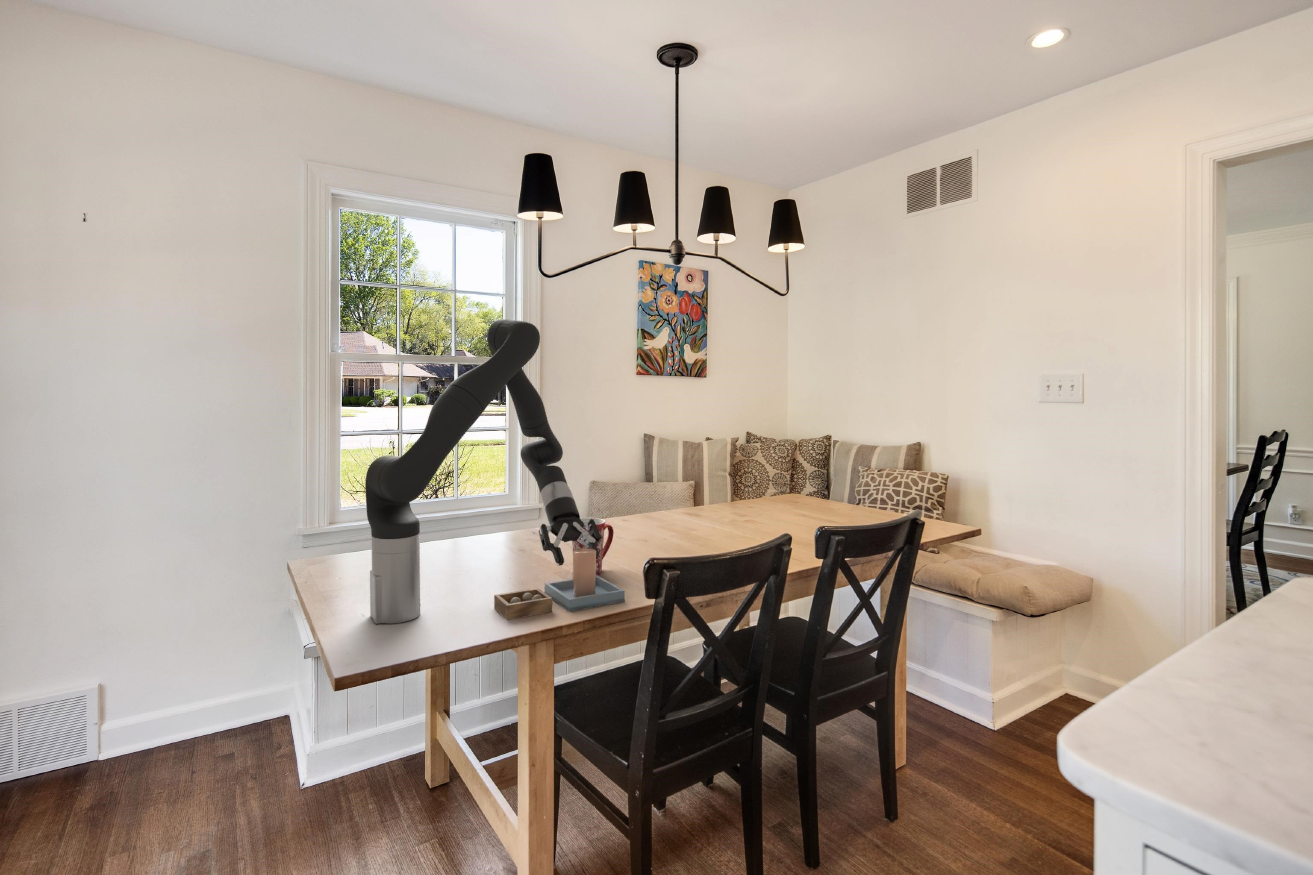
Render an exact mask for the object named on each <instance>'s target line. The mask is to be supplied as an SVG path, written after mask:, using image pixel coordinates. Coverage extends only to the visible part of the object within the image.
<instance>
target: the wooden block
mask: <svg viewBox="0 0 1313 875" xmlns="http://www.w3.org/2000/svg"><path fill="white" fill-rule="evenodd" d="M596 575H597V574H596V550H594V549H576V550H574V551H573V550H572V579H573V596H575V597H582V596H588V595H594V594H596Z"/></svg>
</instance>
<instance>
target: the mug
mask: <svg viewBox="0 0 1313 875" xmlns="http://www.w3.org/2000/svg"><path fill="white" fill-rule="evenodd" d="M580 519H581V520H582V521H583V522H589V521H590V519H593V520H594V522H595V524H596V526H597V528H598V531H599V533H600V535H601V540H600V541H599V543H598V545H596V546H597V549H598V552H599V556H598V558H597V560H596V575H598V574H601V573H602V570H603V559H604V558H605V557H606V554H607V553H608V552H609V549H610V547H611V545H612V542H613V538H614V535H615V534H614V533H615V532H614V528H613V526H612V525H611V524H609V523H606V520H605V519H602V518H597V517H580ZM583 529H585V530H586V528H583ZM606 529H607V538H606V541H605V544H604V539H605V538H604V537H605V530H606ZM586 531H587V530H586ZM587 532H588V533H589V531H587ZM589 535H590V534H589ZM580 536H581V537H583V535H582V534H581V535H580ZM571 542H572V552H573V551H574V550H576V549H588V548H589V547H588V546H586V545H585V544H584V543H580V542H579V541H578V540H576V541H571Z"/></svg>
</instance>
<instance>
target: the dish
mask: <svg viewBox="0 0 1313 875" xmlns="http://www.w3.org/2000/svg"><path fill="white" fill-rule="evenodd" d="M625 591H626V590H625V589H623V588H621V587H619V586H618V585H616V584H614V583H612V582H610V581H609V580H607V579H605V578H603V577H601V576H599V575H598V574H596V594H594V595H588V596H582V597H575V596H573V578H570V579H564V580H559V581H552V582H544V593H546V594H547V595H549V596H550V597H551V598H552V602H553V601H554V602H555V603H556V604H557V605H559V606H560V607H562V608H563V609H564V610H567V612H576V611H581V610H586V609H591V608H598V607H604V606H610V605H614V604H620V603H625V601H626V600H625V595H626V592H625Z"/></svg>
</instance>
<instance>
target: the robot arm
mask: <svg viewBox="0 0 1313 875" xmlns="http://www.w3.org/2000/svg"><path fill="white" fill-rule="evenodd" d="M486 342H487V347H488V349H489V353H490V354H491V357H489V359H487V360H485V361H484V362H482V363H481V364H479V365H477V366H476V367H473V368H471V369H469V370H468V371H466V372H465V373H463V374H461V375H460V376H458V377H457V378H455V379H454V380H453V381H452V382H450V383H449V384H448V386H447V387H446V389H445V390H443V392H442V393H441V394H440V395H439V396H438V397H437V399H436V400H435V402H433V405H432V406H431V409H430V412H429V415H428V418H427V422H426V424H425V427H424V430H423V431H422V433H421V435H420V436H419V437H418V438H417V440H416V441H415V442H414V443H413V444H412V445H411V446H410V448H408V449H407V450H406V452H404V454H402V455H401V456H398V455H392V454H391V455H388V454H387V455H382V456H379V457H378V458H376V459H375V460H373V461H372V462H371V464H370V465H369V467H368V468H367V471H366V475H365V486H364V487H365V505H366V506H365V507H366V518H367V521H368V524H369V526H370V531H371V532H370V533H371V570H369V594H370V595H369V598H370V600H369V603H370V604H369V605H370V606H369V610H370V613H369V614H370V617H371V619H372V621H373V622H374V624H375V625H378V624H399V623H405V622H409V621H412V620H415V619H417V618H418V617H420V615H421V605H422V604H421V546H420V545H421V543H420V542H421V538H420V537H421V536H420V535H421V533H420V532H421V528H420V527H421V526H420V525H421V524H420V520H419V518H418V517H417V516H416V515H415V514H414V512H413V510H412V508H411V503H412V502H413V501H415V500H416V499H418V498H419V496H421V495H422V494H423V493H424V492H425V491H426V488H428V486H429V484H430V483H431V481H432V479H433V478H434V477H435V475H436V474H437V472H438V470H439V469H440V467H441V465H442V464H443V462H445V460H446V458H447V457H448V455H449V454H450V453H451V452H452V451H453V449H454V448H455V447H456V446H457V444H458V443H459V442H460V441H461V439H462V438H463V437H464V436H465V434H466V433H467V432H468V431H469V430H470V429H471V428H472V427H473V425H474V424H475V423H476V421H477V420H478V419H479V418H480V417H481V415H483V413H484V412H485V410H486V408H487V407H488V406H489V405H490V404H491V402H492V401H493V400H494V399H495V398H496V396H498V394H499V393H500V392H501V391H502V389H503V388H504V387H506V388H507V390H508V392H509V395H510V398H511V399H512V400H511V401H512V403H513V406H514V409H515V412H516V413H515V414H516V417H517V419H518V423H519V426H520V430H521V432H522V434H523V436H525V437H528V438H541V439H537V440H534V441H533V440H532V441H530V442H527V443H525V444H524V445H523V446H522V447H521V448H520V449H521V450H520V458H521V460H522V462H523V464H524V465H525V467H526V468H527V469H528V471H529V472H530V473H531V475H532V476H533V478H534V479H535V482H536V483H537V487H538V489H539V493H540V496H541V502H542V507H543V509H544V511H545V514H546V518H547V521H548V524H549V525H546V524H545V523H541V525H540V527H539V529H538V536H539V539H540V542H541V543H540V544H541V548H542V550H543V551H544V552H547V551H549V552H551V553H552V554H553V555H552V556H553V559H554V562H555V563H556V564H558V566H563V565H564V563H565V558H564V556H563V552H562V549H561V547H559V546H560V544H561V542H564V543H568V542H572V541H576V540H578V541H579V542H580V543H584V544H585V545H586V546H588V547H589V548H588V549H594V550H596V560H597V558H598V556H599V552H598V549H597V546H596V545H598V543H599V541H600V540H601V535H600V533H599V531H598V528H597V526H596V524H595V522H594V520H593V519H590V521H589V522H583V521H582V520H581V519H580V518H581V516H580V512H579V509H578V506H577V503H576V501H575V498H574V496H573V492H572V491H571V489H570V486H569V485H568V481H567V479H566V477H565V474H564V471H563V469H562V468H561V467H560V466H558V465H554V464H556V463H559V462H561V459H562V458H563V454H564V450H563V447H562V445H561V443H560V440H558V438H557V437H556V435H555V433H554V432H553V430H552V428H551V426H550V423H549V420H548V417H547V413H546V408H545V404H544V401H543V400H542V397H541V395H540V394H539V392H538V391H537V388H535V386H534V385H533V384H532V382H531V380H530V379H529V378H528V376H527V374H526V372H525V370H524V369H523V368H524V366H526V364H528V363H529V362H530V360H532V358H534V356H535V354H536V352H537V350H538V349H539V347H540V342H541V335H540V331H539V329H538V328H537V326H536V325H534V323H531V322H529V321H523V320H515V319H508V318H507V319H505V318H503V319H502V318H500V319H496V320H495V321H493V322H492V323H491V324H490V325H489V327H488V329H487V333H486ZM583 528H586V530H587V531H589V533H588V532H587V531H586V530H585V529H583ZM550 533H551V534H553V535H554V536H555V540H554V542H551V541H550V540H551V539H550V535H549V534H550ZM581 534H582V535H583V537H581V536H580V535H581ZM589 534H590V535H589Z"/></svg>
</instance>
